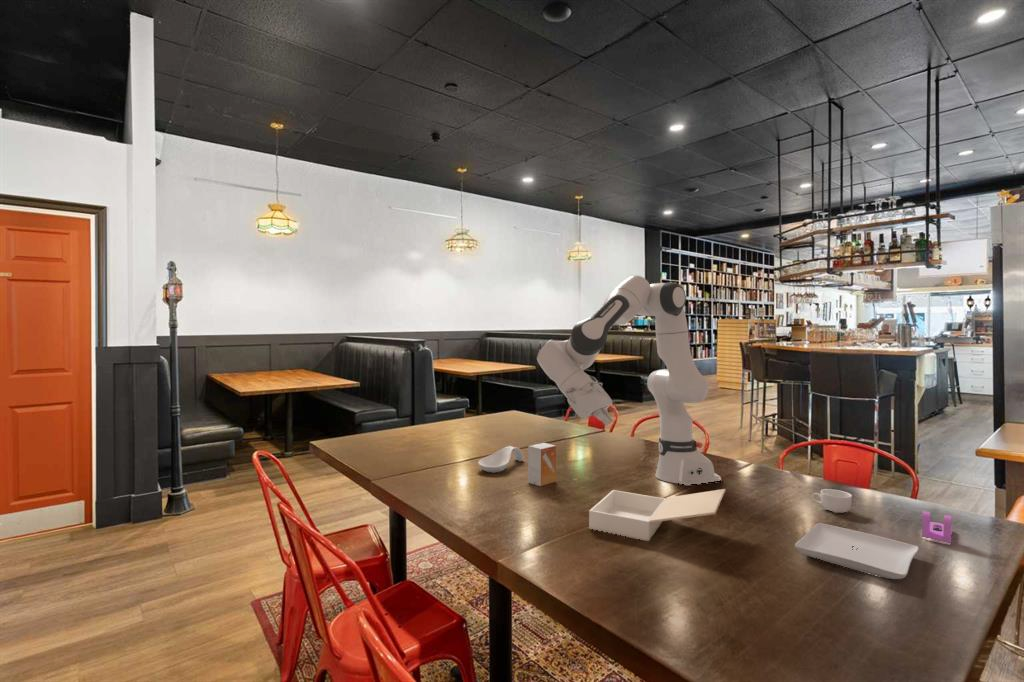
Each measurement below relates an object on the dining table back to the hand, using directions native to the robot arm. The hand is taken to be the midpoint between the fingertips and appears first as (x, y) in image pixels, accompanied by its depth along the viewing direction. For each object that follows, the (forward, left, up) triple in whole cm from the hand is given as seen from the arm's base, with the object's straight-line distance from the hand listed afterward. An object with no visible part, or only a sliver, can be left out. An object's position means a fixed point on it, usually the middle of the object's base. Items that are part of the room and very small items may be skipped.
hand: (609, 423), depth 142 cm
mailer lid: (-17, +13, -19) cm, 29 cm away
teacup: (-68, +1, -27) cm, 73 cm away
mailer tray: (-5, +3, -27) cm, 28 cm away
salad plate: (-51, +30, -28) cm, 65 cm away
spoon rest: (+25, -56, -28) cm, 68 cm away
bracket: (-82, +20, -28) cm, 89 cm away
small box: (+13, -35, -27) cm, 47 cm away
